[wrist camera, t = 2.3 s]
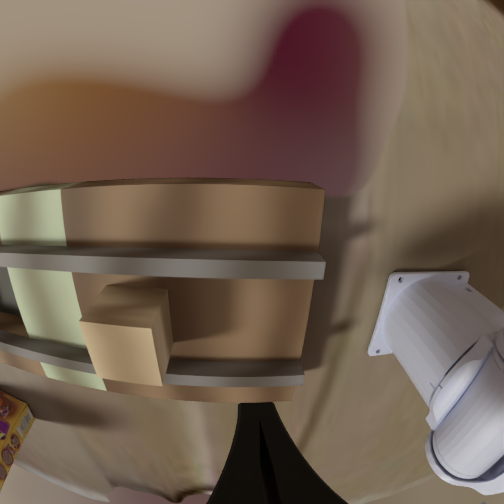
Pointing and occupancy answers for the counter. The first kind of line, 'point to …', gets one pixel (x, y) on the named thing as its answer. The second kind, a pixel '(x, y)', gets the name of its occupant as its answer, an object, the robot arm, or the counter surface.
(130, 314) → the birch block
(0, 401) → the candy box
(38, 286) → the lane deck
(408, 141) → the counter surface
